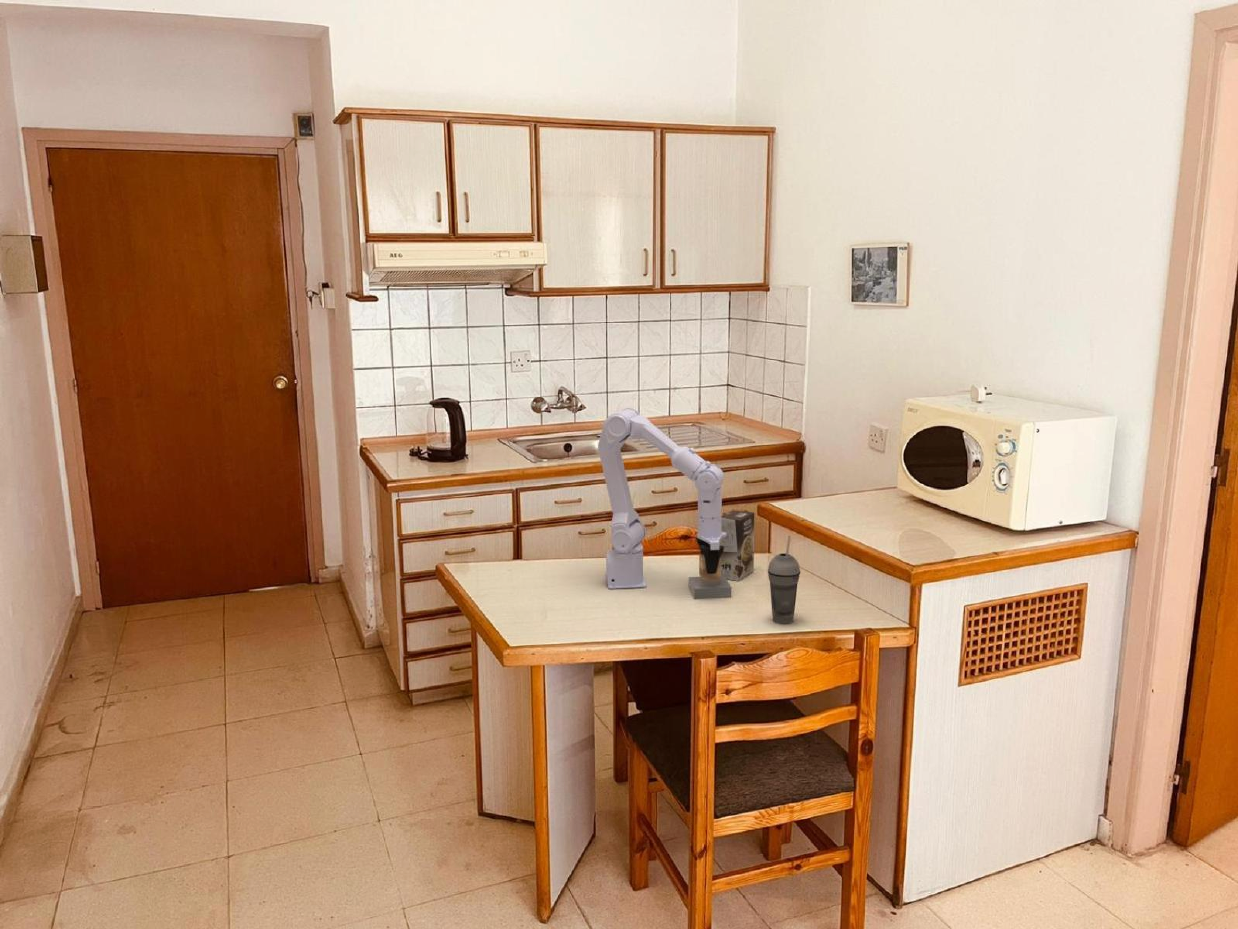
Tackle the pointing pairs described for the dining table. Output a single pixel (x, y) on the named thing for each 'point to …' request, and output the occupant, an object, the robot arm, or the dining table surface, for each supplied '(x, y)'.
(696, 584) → the slate base
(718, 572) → the oak block
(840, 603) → the dining table surface
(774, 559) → the beverage cup
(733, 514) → the coffee box
